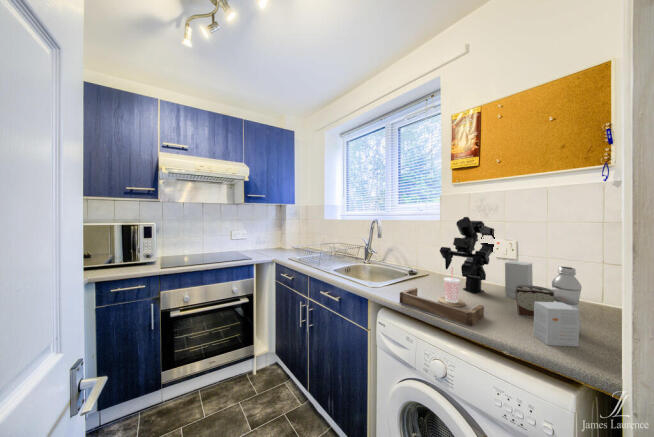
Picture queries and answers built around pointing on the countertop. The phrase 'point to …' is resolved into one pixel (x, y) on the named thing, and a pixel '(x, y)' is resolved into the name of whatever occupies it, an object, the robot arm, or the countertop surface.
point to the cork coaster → (458, 304)
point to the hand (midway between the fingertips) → (457, 270)
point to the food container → (531, 298)
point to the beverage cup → (451, 288)
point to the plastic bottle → (567, 288)
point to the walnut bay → (442, 308)
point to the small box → (556, 323)
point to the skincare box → (517, 276)
